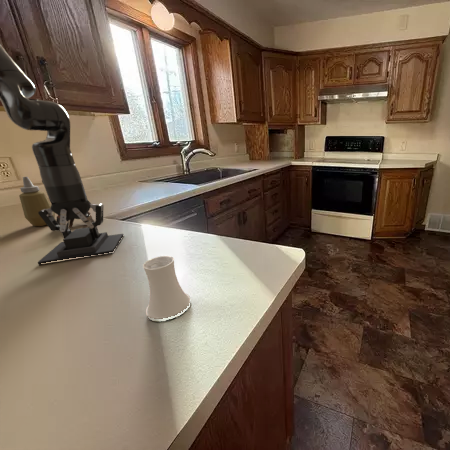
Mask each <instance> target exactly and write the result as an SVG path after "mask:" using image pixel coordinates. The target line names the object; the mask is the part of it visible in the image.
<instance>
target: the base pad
mask: <svg viewBox="0 0 450 450" xmlns="http://www.w3.org/2000/svg"><path fill="white" fill-rule="evenodd" d="M123 235H124V233H118V234H111V235H110V234H109V235H108V232H107V231H105V232H99V237H98V238H97V239H96V240H95V241H94V242H93V243H92V244H91V245H90V246H89V247H82V248H75V249H68V250H67V249H66V246H65V244H64V241H61V242H59V243H58V245H56V246H55V247H54V248H52V249H51V250H50V251H49V252H48V253H47V254H45V255H44V256H43V257H42V258H40V259H39V260H38V261H37V264H41V263H46V262H51V261H57V260H63V259H69V258H76V257H84V256H91V255H98V254H104V253H109V252H113V251H114V249H115V248H116V246H117V245H118V243H119V241H120V240H121V238H122V237H123ZM123 238H124V237H123ZM121 241H122V240H121ZM119 244H120V243H119ZM118 246H119V245H118ZM116 249H117V248H116ZM114 252H115V251H114Z"/></svg>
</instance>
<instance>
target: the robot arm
mask: <svg viewBox="0 0 450 450" xmlns="http://www.w3.org/2000/svg"><path fill="white" fill-rule="evenodd" d="M35 94H36V87H35V84H34V83H33V82H32V80H31V79H30V78H29V77H28V76H27V74H26V73H25V72H24V71H23V69H22V68H21V67H20V66H19V65H18V64H17V63H16V62H15V60H13V58H12V57H11V55H10V54H9V53H8V52H7V51H6V49H5V48H4V47H3V45H2V44H1V43H0V102H1V104H2V107H3V109H4V111H5V113H6V115H7V117H8V119H9V120H10V121H11V122H12V123H13V124H15V125H16V126H17V127H19V128H21V129H22V130H25V131H30V132H46V138H45V139H43V140H39V141H36V142H34V143H32V145H31V150H32V153H33V156H34V158H35V161H36V164H37V167H38V169H39V175H40V176H39V177H40V179H41V183H42V184H43V186H44V189H45V191H46V194H47V195H46V196H47V198H48V201H49V202H50V204H51V208H48V209H43V210H41V211H39V212H38V214H39V215H40V216H41V218H42V219H43V220H44V222H45V223H46V224H47V225H46V226H47V227H48V229H49V230H50V231H51V232H55V231H57V232H60V233H61V235H62V237H63V239H64V238H66V237H67V236H68V235H69V234H71V233H72V232H73V231H72V229H70V228H69V223H70V220H72V219H74V220H80V221H82V223H84V224H85V225H86V226H87V227H89V231H90V233H91V236H92V239H93V240H96V239H97V238H98V237H99V233H100V232H99V230H98V226H100V225H102V224H103V223H104V204H103V203H101V202H100V203H91V202H90V201H89V200H88V196H87V193H86V190H85V187H84V185H83V181H82V177H81V173H80V172H79V170H78V167H77V165H76V162H75V159H74V156H73V153H72V150H71V120H70V119H71V118H70V116H69V114H68V112H67V111H66V109H65V108H64V107H63V106H62V105H61V104H59V103H58V102H55V101H52V100H43V99H36V98H34V99H33V98H32V97H33V96H34V95H35ZM91 209H92V211H93V212H94V213H95V219H94V218H93V216H92V215H91V214H89V213H90V210H91ZM53 212H54V213H55V215H57V216H58V215H59V216H60V225H59V224H58V222H57V220H56V217H55V218H54V217H53ZM88 212H89V213H88Z"/></svg>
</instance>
